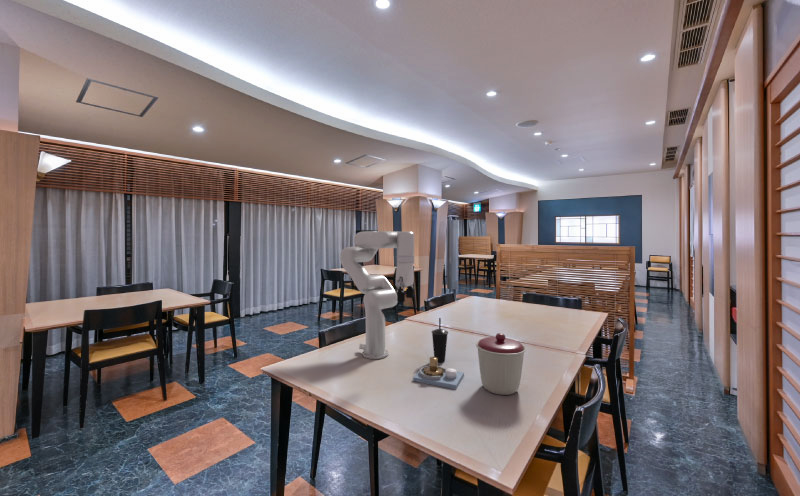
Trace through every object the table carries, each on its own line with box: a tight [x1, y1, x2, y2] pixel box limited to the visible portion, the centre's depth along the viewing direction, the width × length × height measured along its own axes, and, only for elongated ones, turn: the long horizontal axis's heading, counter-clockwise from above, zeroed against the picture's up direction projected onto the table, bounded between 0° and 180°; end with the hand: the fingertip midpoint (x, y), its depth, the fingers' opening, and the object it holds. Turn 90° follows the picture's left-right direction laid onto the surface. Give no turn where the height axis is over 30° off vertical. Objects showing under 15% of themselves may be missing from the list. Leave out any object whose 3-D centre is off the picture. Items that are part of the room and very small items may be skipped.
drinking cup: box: [431, 317, 449, 364], centre depth 151 cm, size 8×8×20 cm
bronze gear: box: [424, 356, 444, 377], centre depth 133 cm, size 8×8×6 cm
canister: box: [475, 332, 527, 396], centre depth 123 cm, size 18×18×21 cm
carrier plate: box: [412, 365, 465, 390], centre depth 132 cm, size 18×13×4 cm
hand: (405, 299), depth 141 cm, fingers open, 9 cm apart
